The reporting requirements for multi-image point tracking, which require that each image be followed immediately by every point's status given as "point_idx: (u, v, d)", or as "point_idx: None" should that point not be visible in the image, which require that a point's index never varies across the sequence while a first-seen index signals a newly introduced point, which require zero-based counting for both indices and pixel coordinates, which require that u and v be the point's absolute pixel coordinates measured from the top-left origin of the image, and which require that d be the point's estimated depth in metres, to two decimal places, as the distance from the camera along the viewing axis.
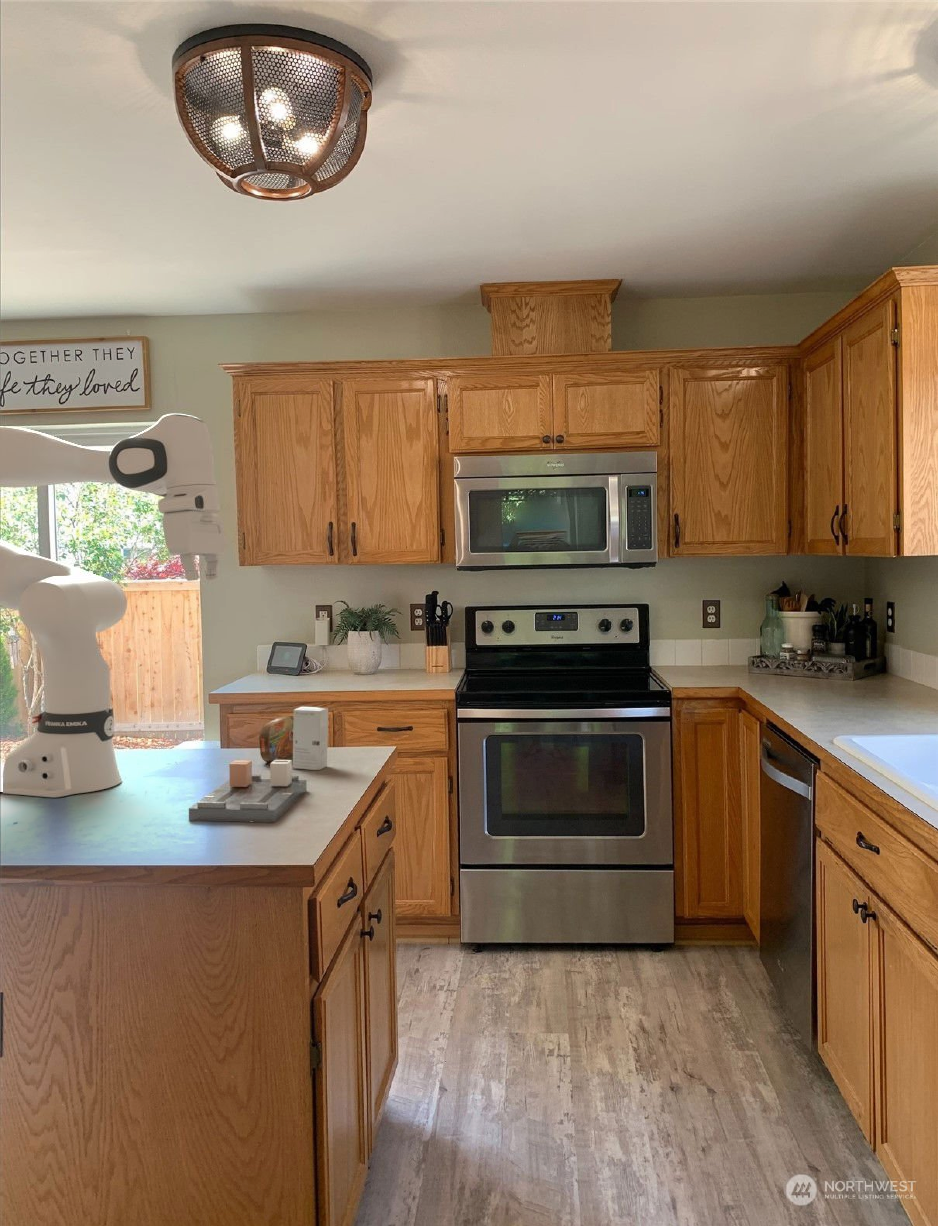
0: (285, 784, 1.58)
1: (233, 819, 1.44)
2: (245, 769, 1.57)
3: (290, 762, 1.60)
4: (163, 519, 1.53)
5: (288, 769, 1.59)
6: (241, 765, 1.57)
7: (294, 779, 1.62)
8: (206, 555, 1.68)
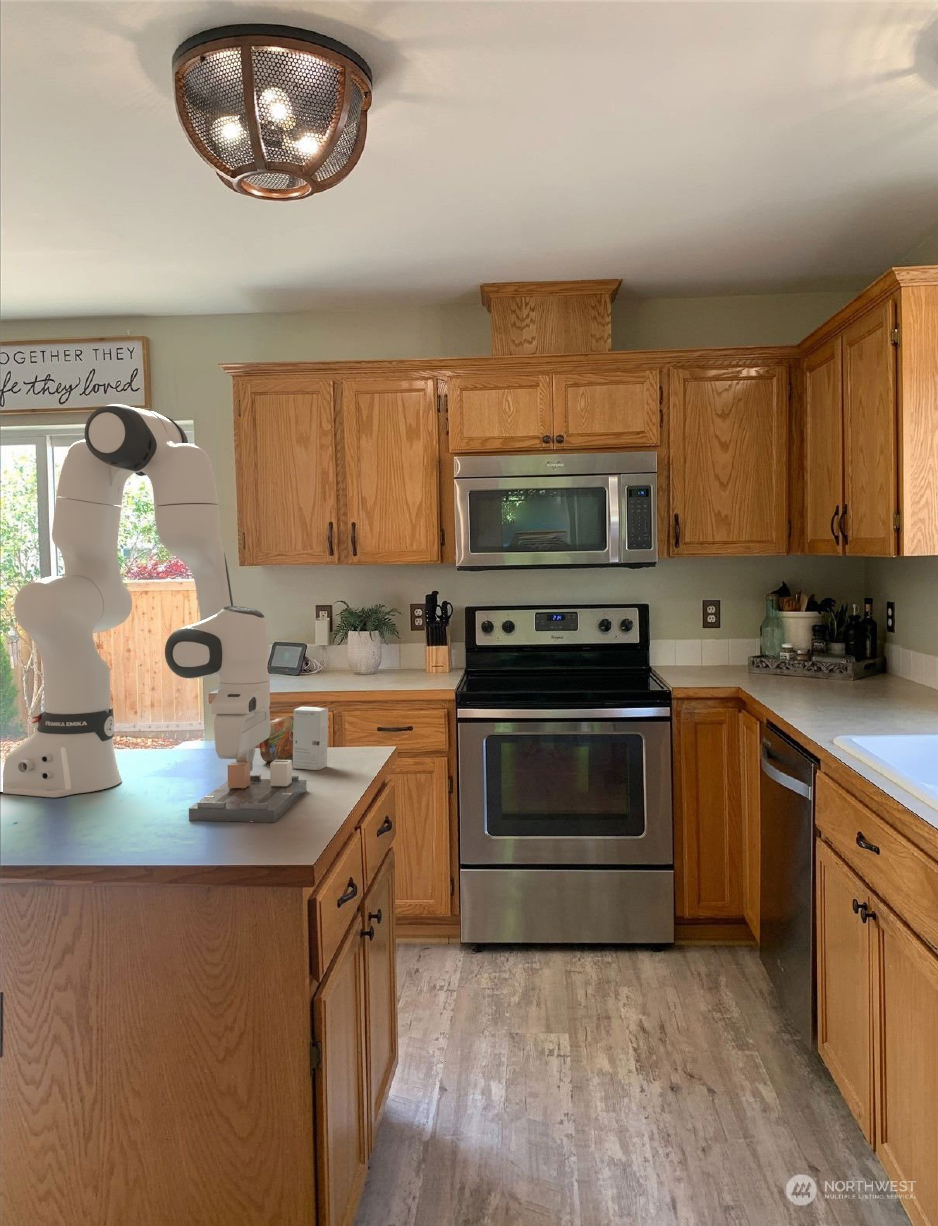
0: (285, 784, 1.58)
1: (233, 819, 1.44)
2: (243, 770, 1.56)
3: (290, 762, 1.60)
4: (215, 722, 1.52)
5: (288, 769, 1.59)
6: (239, 766, 1.56)
7: (294, 779, 1.62)
8: None
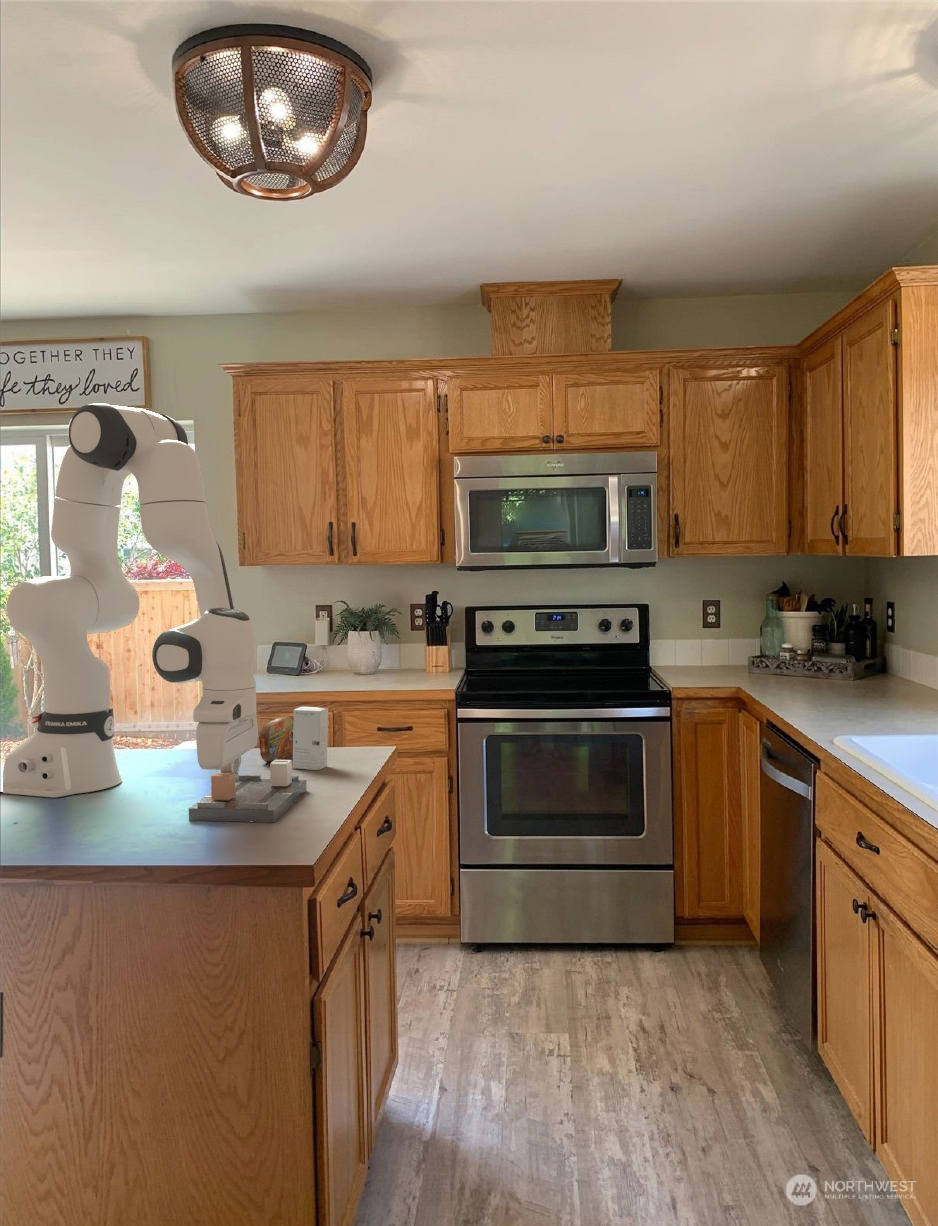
0: (285, 784, 1.58)
1: (233, 819, 1.44)
2: (228, 781, 1.48)
3: (290, 762, 1.60)
4: (197, 731, 1.44)
5: (288, 769, 1.59)
6: (223, 777, 1.48)
7: (294, 779, 1.62)
8: None
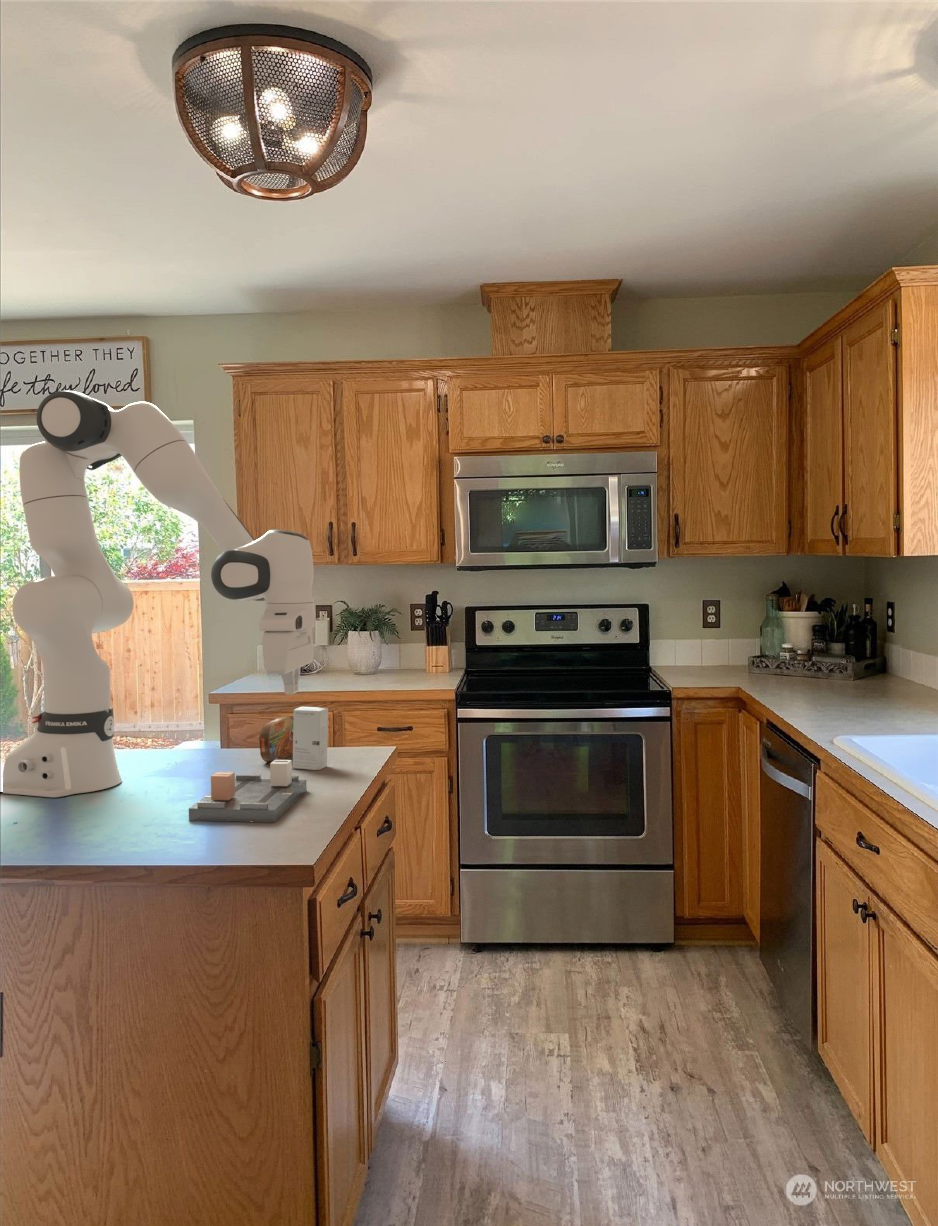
0: (285, 784, 1.58)
1: (233, 819, 1.44)
2: (227, 781, 1.48)
3: (290, 762, 1.60)
4: (263, 639, 1.55)
5: (288, 769, 1.59)
6: (223, 777, 1.48)
7: (294, 779, 1.62)
8: None
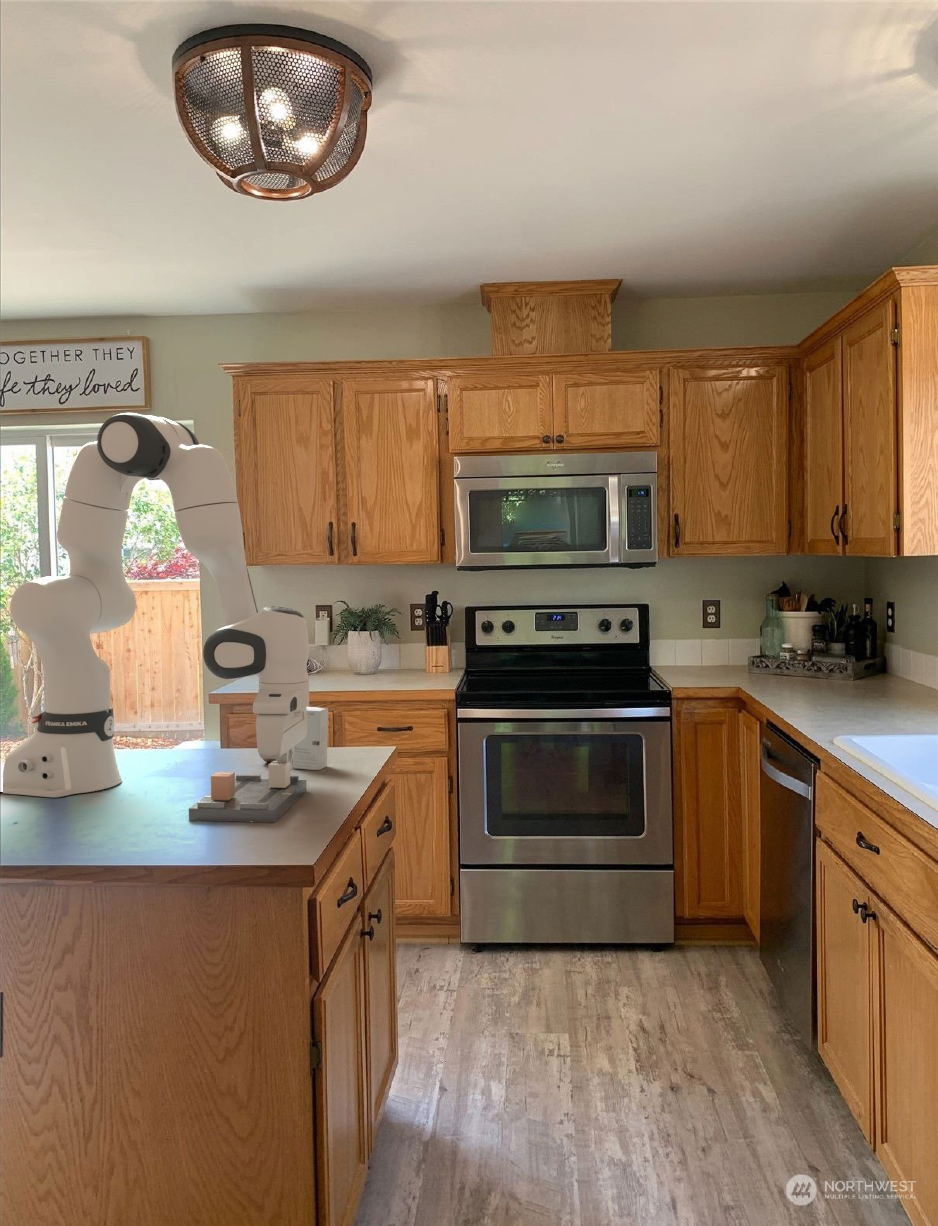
0: (283, 785, 1.57)
1: (233, 819, 1.44)
2: (227, 781, 1.48)
3: (288, 763, 1.59)
4: (257, 722, 1.52)
5: (287, 770, 1.58)
6: (223, 777, 1.48)
7: (294, 779, 1.62)
8: None
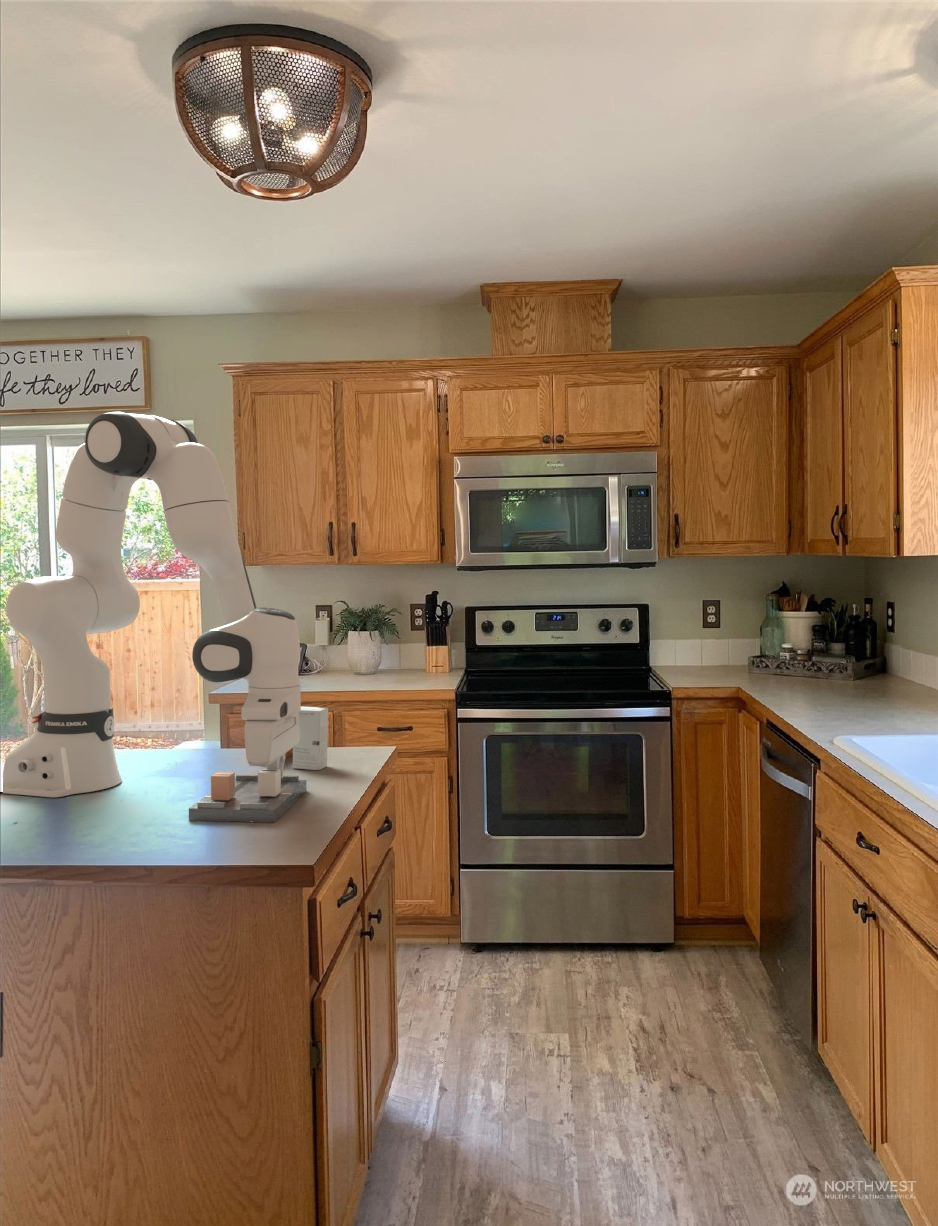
0: (273, 794, 1.51)
1: (233, 819, 1.44)
2: (227, 781, 1.48)
3: (279, 771, 1.53)
4: (245, 728, 1.46)
5: (277, 778, 1.52)
6: (223, 777, 1.48)
7: (294, 779, 1.62)
8: None
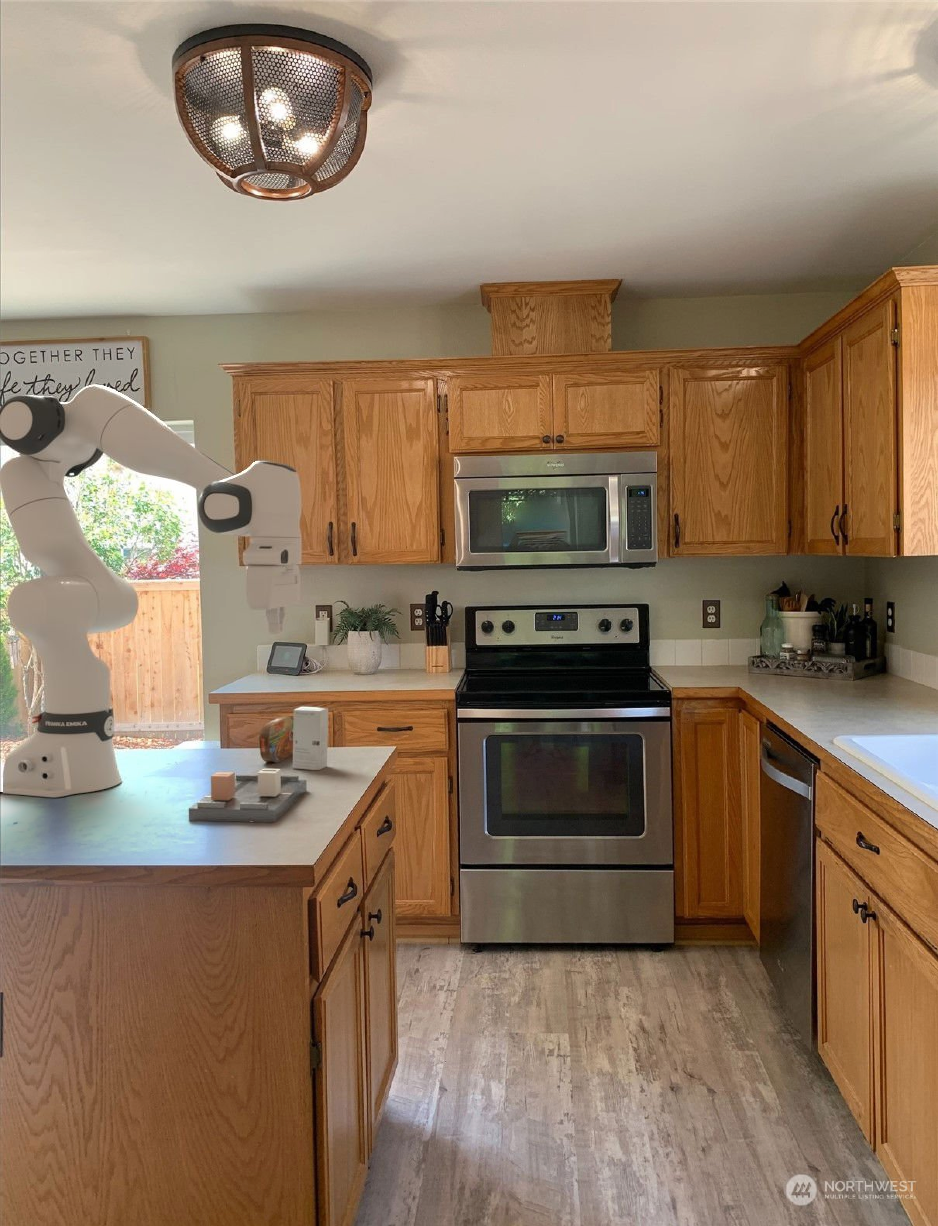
0: (273, 794, 1.51)
1: (233, 819, 1.44)
2: (227, 781, 1.48)
3: (279, 771, 1.53)
4: (247, 572, 1.48)
5: (277, 778, 1.52)
6: (223, 777, 1.48)
7: (294, 779, 1.62)
8: None
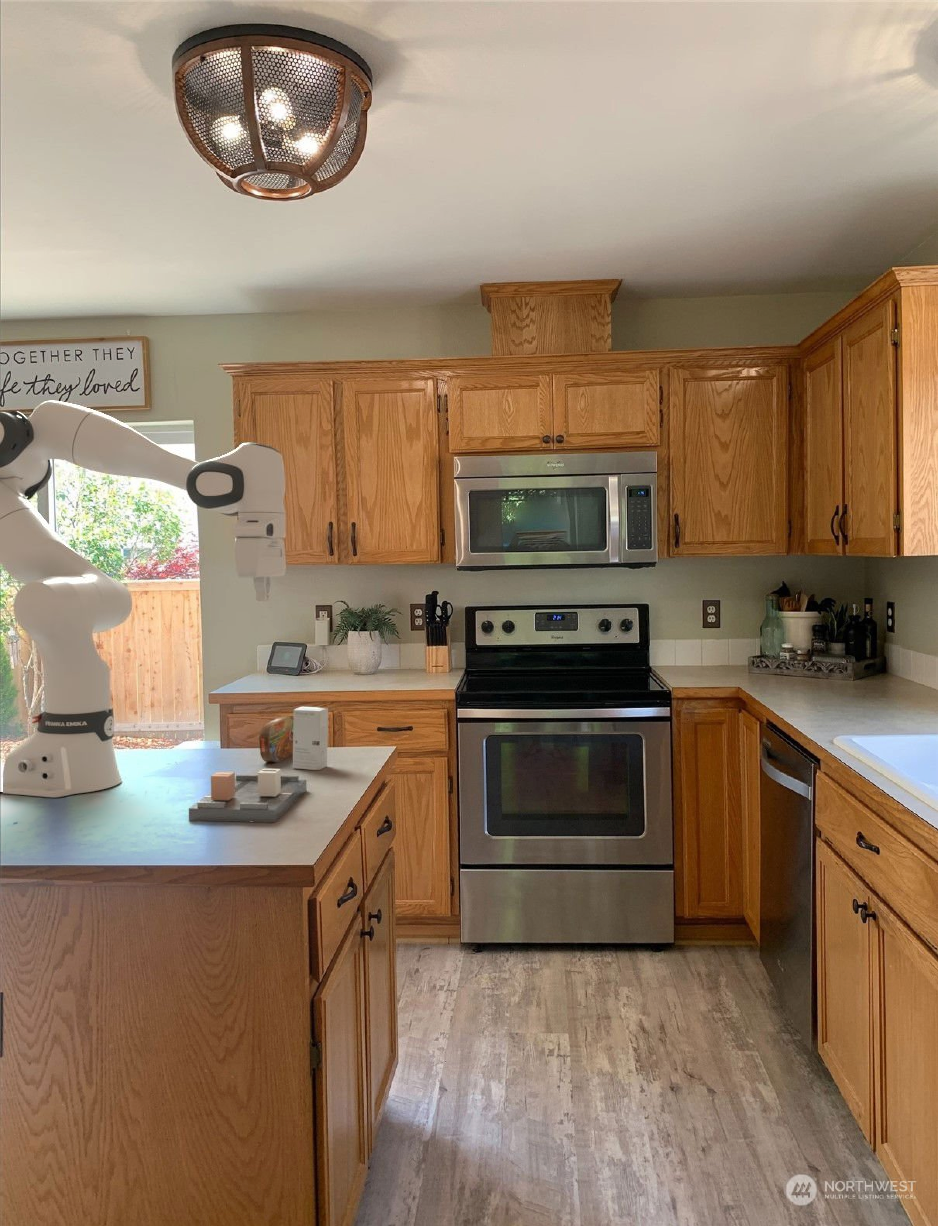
0: (273, 794, 1.51)
1: (233, 819, 1.44)
2: (227, 781, 1.48)
3: (279, 771, 1.53)
4: (235, 543, 1.63)
5: (277, 778, 1.52)
6: (223, 777, 1.48)
7: (294, 779, 1.62)
8: None
